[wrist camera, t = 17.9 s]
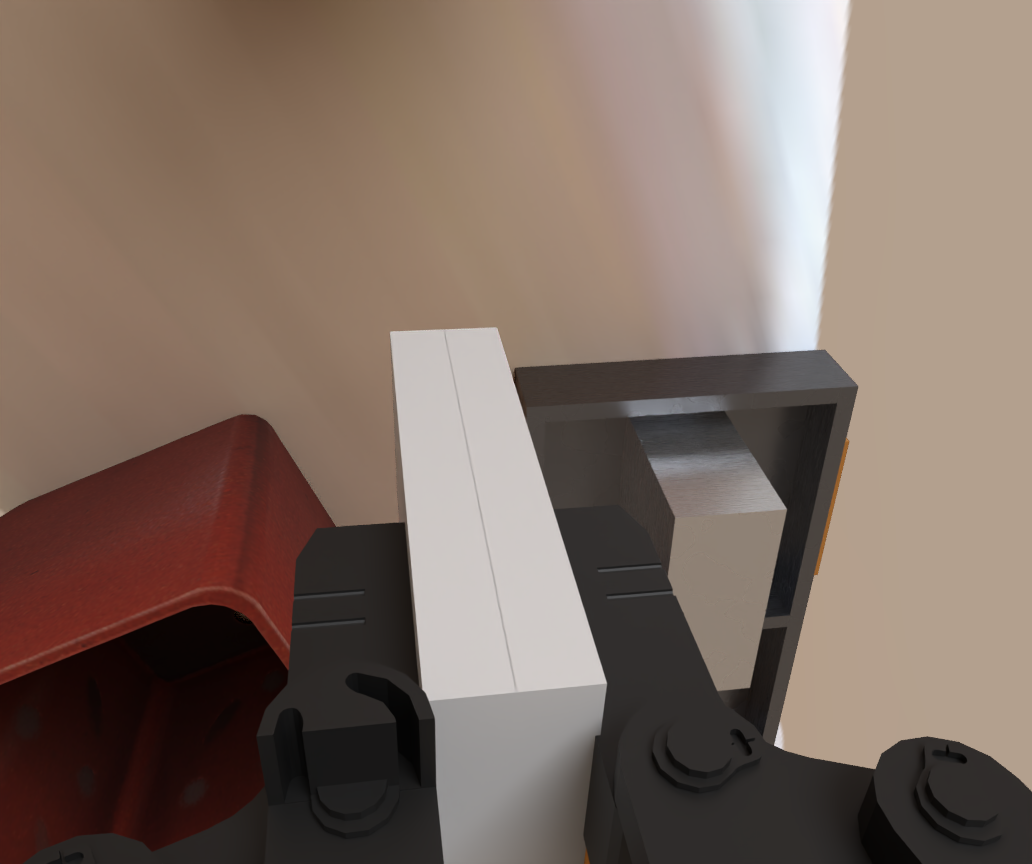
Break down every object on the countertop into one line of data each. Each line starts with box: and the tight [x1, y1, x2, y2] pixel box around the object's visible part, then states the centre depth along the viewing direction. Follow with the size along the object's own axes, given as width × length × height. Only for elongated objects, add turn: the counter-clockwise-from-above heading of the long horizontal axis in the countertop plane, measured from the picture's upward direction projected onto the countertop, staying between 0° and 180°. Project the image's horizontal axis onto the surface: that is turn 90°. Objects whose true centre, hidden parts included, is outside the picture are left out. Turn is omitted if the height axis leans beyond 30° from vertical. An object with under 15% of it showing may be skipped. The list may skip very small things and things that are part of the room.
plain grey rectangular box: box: [619, 411, 787, 691], centre depth 42 cm, size 4×10×8 cm, turn 179°
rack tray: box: [515, 350, 858, 745], centre depth 48 cm, size 15×28×4 cm, turn 0°
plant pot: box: [0, 414, 336, 864], centre depth 37 cm, size 19×19×17 cm
